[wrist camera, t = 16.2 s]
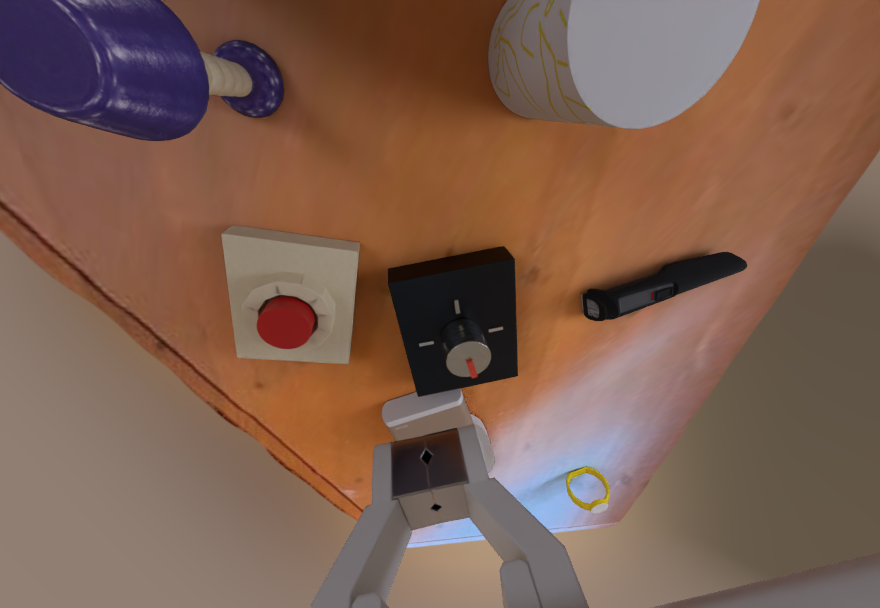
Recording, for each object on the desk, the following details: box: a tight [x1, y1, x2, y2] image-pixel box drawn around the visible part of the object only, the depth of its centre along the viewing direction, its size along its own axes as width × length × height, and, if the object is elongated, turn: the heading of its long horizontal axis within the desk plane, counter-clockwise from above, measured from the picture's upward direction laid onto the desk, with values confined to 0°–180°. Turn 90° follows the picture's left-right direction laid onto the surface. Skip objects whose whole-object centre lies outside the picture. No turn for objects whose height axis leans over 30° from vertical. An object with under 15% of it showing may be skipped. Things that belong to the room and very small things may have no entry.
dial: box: [441, 319, 491, 378], centre depth 30 cm, size 4×4×4 cm
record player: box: [382, 388, 495, 473], centre depth 43 cm, size 12×3×20 cm
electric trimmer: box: [581, 252, 747, 321], centre depth 34 cm, size 4×16×3 cm, turn 107°
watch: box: [566, 467, 610, 514], centre depth 50 cm, size 6×3×6 cm, turn 104°
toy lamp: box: [0, 0, 284, 141], centre depth 15 cm, size 5×5×17 cm
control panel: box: [388, 246, 518, 397], centre depth 33 cm, size 14×11×3 cm
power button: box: [257, 296, 315, 349], centre depth 27 cm, size 4×4×2 cm
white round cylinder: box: [488, 0, 760, 129], centre depth 18 cm, size 8×8×12 cm
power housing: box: [221, 225, 360, 364], centre depth 29 cm, size 12×10×4 cm
